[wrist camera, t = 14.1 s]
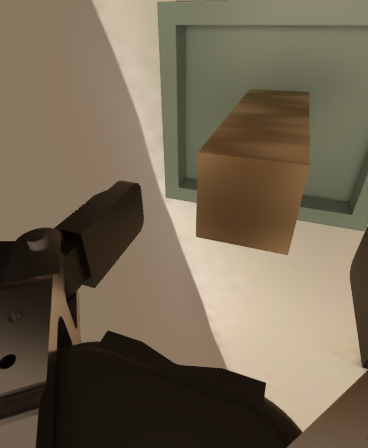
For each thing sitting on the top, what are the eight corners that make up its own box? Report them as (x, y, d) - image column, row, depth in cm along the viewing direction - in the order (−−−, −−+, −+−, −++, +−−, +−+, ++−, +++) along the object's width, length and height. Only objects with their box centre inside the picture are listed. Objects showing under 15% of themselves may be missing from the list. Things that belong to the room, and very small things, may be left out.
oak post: (309, 92, 20) (310, 165, 10) (296, 148, 22) (287, 255, 12) (250, 88, 21) (197, 152, 11) (244, 143, 24) (196, 236, 13)
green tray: (442, -2, 17) (464, -5, 14) (359, 211, 24) (364, 231, 22) (174, 3, 21) (157, 2, 19) (177, 182, 29) (165, 197, 26)
